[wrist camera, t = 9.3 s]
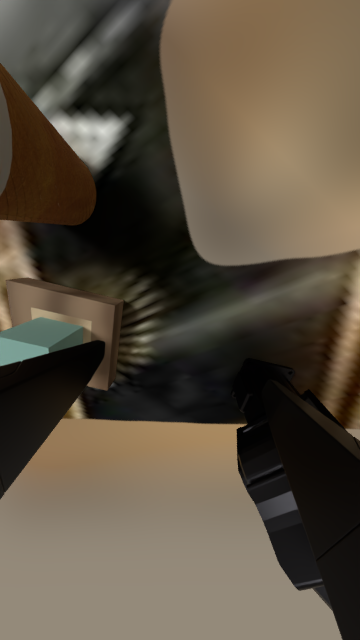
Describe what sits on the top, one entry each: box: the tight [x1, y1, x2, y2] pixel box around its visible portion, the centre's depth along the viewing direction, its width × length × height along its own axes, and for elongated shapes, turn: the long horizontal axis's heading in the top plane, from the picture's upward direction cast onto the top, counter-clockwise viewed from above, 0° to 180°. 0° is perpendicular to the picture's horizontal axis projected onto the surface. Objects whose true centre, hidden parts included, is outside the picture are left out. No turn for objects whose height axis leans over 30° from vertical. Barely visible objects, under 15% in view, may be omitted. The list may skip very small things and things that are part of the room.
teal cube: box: [0, 317, 83, 366], centre depth 18 cm, size 5×5×5 cm
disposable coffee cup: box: [0, 63, 96, 225], centre depth 11 cm, size 10×10×12 cm
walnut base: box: [6, 278, 124, 390], centre depth 21 cm, size 12×12×2 cm
